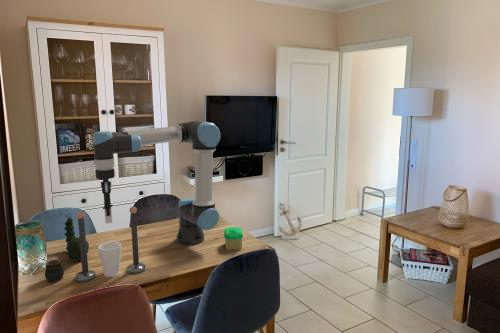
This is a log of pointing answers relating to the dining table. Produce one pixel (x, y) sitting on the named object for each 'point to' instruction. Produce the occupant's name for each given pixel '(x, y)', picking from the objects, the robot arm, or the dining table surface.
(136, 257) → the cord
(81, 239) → the dark gray rod
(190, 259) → the dining table surface
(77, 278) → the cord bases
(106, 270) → the foam cup
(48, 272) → the mate gourd
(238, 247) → the cake
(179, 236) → the robot arm
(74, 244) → the toy figurine
